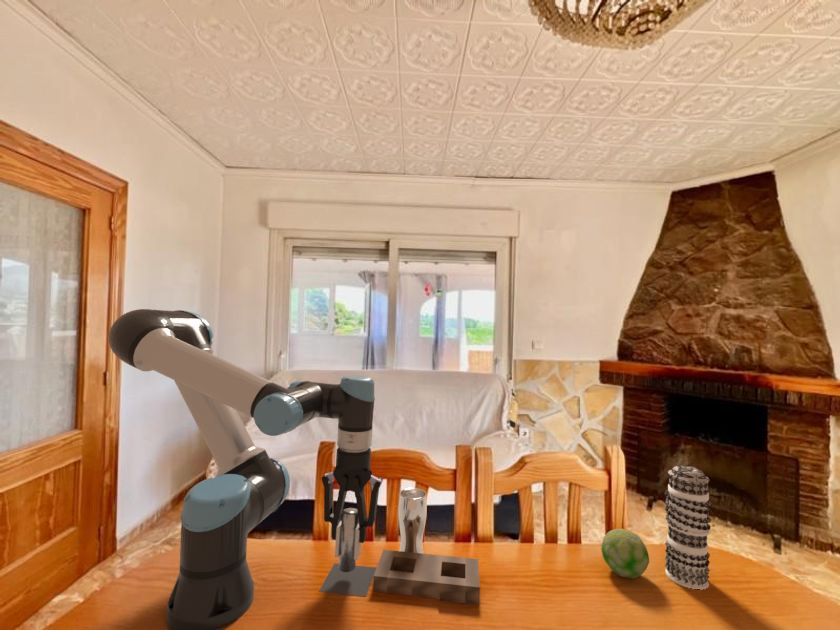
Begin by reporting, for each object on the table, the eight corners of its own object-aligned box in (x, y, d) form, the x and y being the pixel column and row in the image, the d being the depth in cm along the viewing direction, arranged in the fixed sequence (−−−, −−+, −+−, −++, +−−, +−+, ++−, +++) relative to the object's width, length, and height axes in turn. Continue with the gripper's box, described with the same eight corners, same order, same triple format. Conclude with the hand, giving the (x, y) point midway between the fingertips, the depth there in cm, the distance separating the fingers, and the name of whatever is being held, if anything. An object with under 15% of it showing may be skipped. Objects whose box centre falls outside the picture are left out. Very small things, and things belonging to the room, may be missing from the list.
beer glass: (422, 565, 94) (424, 501, 94) (393, 561, 95) (395, 497, 96) (427, 549, 101) (429, 489, 101) (400, 545, 102) (402, 486, 103)
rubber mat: (318, 593, 83) (318, 591, 83) (334, 564, 93) (334, 563, 93) (365, 598, 82) (365, 596, 82) (376, 569, 92) (376, 567, 92)
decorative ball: (621, 590, 87) (622, 544, 88) (591, 564, 97) (592, 522, 97) (659, 585, 90) (660, 540, 90) (626, 560, 99) (627, 519, 100)
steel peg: (336, 571, 86) (339, 514, 86) (341, 561, 90) (344, 507, 90) (352, 573, 86) (356, 516, 86) (357, 563, 89) (360, 508, 90)
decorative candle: (661, 580, 92) (663, 470, 92) (664, 561, 99) (666, 459, 100) (711, 597, 86) (713, 479, 87) (710, 575, 94) (712, 468, 95)
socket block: (372, 592, 84) (373, 575, 84) (382, 564, 94) (383, 549, 94) (479, 604, 81) (479, 587, 81) (477, 574, 91) (478, 559, 91)
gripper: (311, 449, 86) (304, 560, 85) (388, 456, 84) (381, 570, 83) (323, 439, 93) (317, 541, 92) (394, 445, 91) (388, 550, 91)
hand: (347, 554), depth 88 cm, fingers closed on steel peg, 3 cm apart
